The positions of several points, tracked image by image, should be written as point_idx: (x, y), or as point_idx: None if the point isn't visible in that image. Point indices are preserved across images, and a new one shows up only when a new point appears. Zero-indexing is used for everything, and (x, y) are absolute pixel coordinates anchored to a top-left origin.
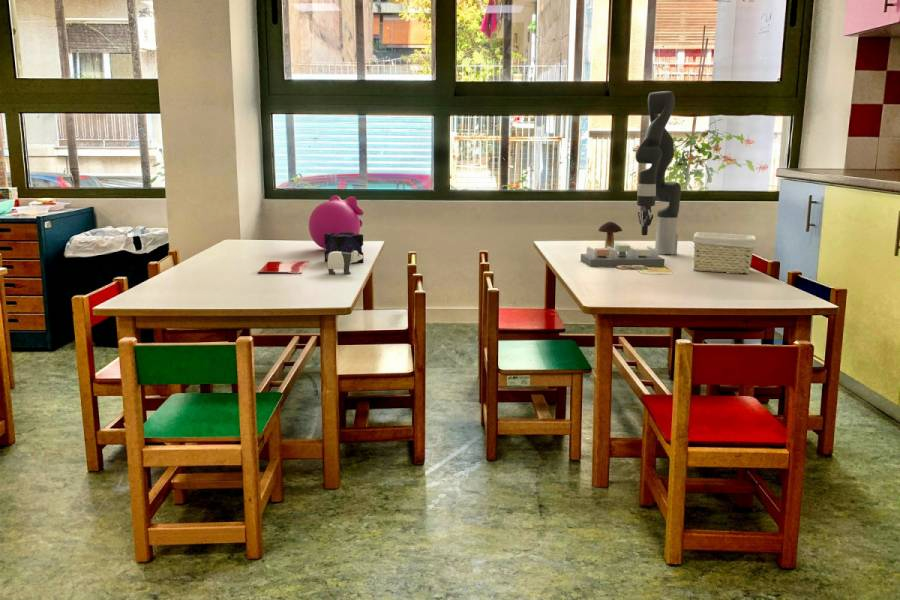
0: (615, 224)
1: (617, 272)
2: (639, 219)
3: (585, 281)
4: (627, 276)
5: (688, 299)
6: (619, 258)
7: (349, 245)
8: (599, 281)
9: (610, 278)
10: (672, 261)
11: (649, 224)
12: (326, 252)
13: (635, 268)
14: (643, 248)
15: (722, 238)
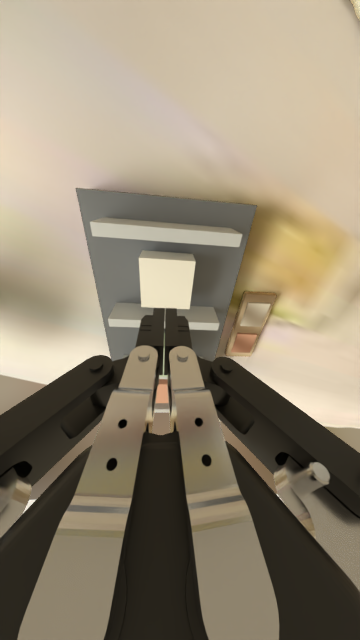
0: None
1: (279, 364)
2: (72, 430)
3: (320, 413)
4: (326, 361)
5: None
6: (200, 351)
7: None
8: (332, 402)
9: (323, 387)
10: (110, 46)
11: (238, 372)
12: None
13: (262, 323)
14: (154, 278)
15: None
